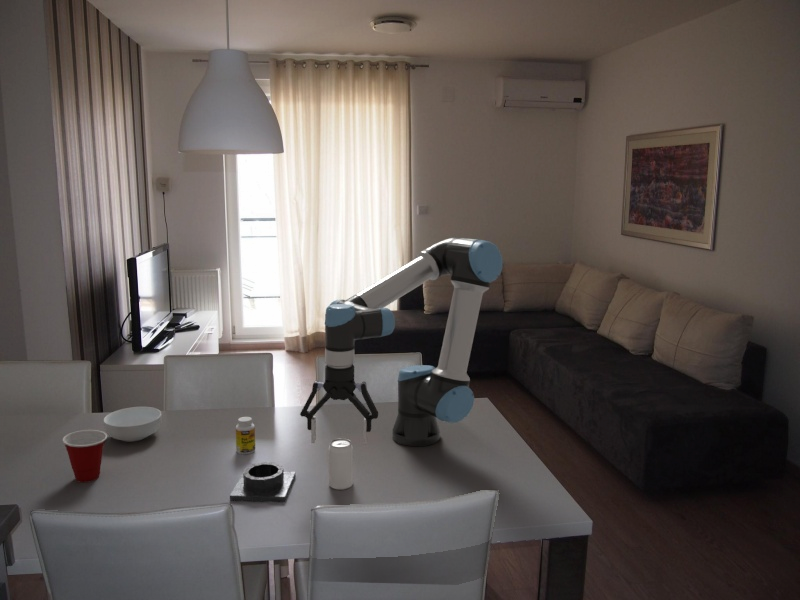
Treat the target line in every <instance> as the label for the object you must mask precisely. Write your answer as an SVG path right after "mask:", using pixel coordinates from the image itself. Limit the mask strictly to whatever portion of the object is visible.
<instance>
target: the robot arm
mask: <svg viewBox="0 0 800 600" xmlns="http://www.w3.org/2000/svg"><path fill="white" fill-rule="evenodd" d="M503 260H504V259H503V256H502V253H501V252H500V249H499V247H498V246H497V245H496V244H495V243H493V242H491V241H488V240H484V239H475V238H466V237H456V236H455V237H448V238H445V239H442V240H440V241H438V242H436V243H433V244H432V245H430V246H428V247H426V248H424V249H423V250H421V251H419V252H418V253H417V255H416V258H414V259H412V260H411V261H409V262H408V263H406V264H405V265H402V266H401V267H399V268H397V269H396V270H394V271H393V272H390V273H389V274H387V275H386V276H383V278H381V279H379V280H377V281H376V282H375V283H373V284H371V285H369V286H367V287H366V288H364V289H363V290H361V291H359V292H358V293H356V294H354V295H353V296H351V297H349V298H347V299H336V300H333V301H332V302H331V303H330V304H329V305H328V306H327V307H326V308H325V317H324V331H325V332H324V337H325V339H324V341H325V343H324V344H325V346H324V348H325V349H324V363H325V366H324V382H321V381H319V380H316V379H315V380H314V381H313V383H312V389H311V392H310V395H308V398H307V400H306V402H305V404H304V406H303V408H302V409H301V412H300V414H299V415H300V416H301V418H302V417H304V418H306V419H307V425H306V426H307V430H308V431H311V439H310V441H311V444H315V443H316V441H317V422H316V421H317V416H316V415H315V414H316V413H317V412H318V411H319V410H320V409H322V408H323V406H324V405H325V403H326V402H328V401H329V400H330V398H331V400H333V401H338V400H339V401H340V400H341V401H346V400H348V401H349V402H350V403H352V405H353V406H354V407H355V408H356V409H357V410H358V412H359V413H360V414H361V415H362V416H363V428H362V429H363V432H362V433H363V434H362V436H363V437H362V439H363V440H362V443H363V444H362V445H363V446H366V445H367V443H368V433H370V432H371V430H372V420H374V419H375V420H377V419H378V417H379V411H378V409H377V407H376V405H375V403H374V401H373V399H372V397H371V395H370V394H369V391H368V388H367V382H366V381H362V382H359V383H358V382H356V380H355V365H354V363H355V342H356V341H358V340H366V339H373V338H381V337H385V336H390V335H391V334H393V332H394V330H395V328H396V327H395V326H396V318H395V315H394V313H393V311H392V310H391V309H390V308H387V306H389V305H390V304H392V303H394V302H395V301H397V300H398V299H400V298H401V297H403V296H405V295H406V294H408V293H410V292H412V291H413V290H415V289H416V288H418V287H419V286H421V285H423V284H424V283H425V282H427V281H429V280H430V281H435V280H437V279H439V278H441V277H443V276H451V277H450V283H451V284H452V286H453V292H452V297H451V302H450V307H449V312H448V317H447V321H446V325H445V332H444V334H443V340H442V346H441V350H440V354H439V359H438V365H437V367H435V366H433V365H426V364H425V365H424V364H422V365H421V364H418V365H417V364H416V365H410V366H404V367H403V368H401V369H400V370H399V371H398V379H397V416H396V419H395V420H394V421H395V422H394V424H393V428H392V440H394V441H395V442H396V443H398V444H400V445H403V446H407V447H426V446H431V445H434V444H436V443H437V442H439V440H440V439H441V431H440V430H441V429H440V427H439V424H438V420H440V421H442V422H445V423H446V422H447V423H450V424H456V423H460V422H462V421H463V420H464V419H465V418H466V417H467V416H468V415H470V413H471V411H472V409H473V406H474V402H475V395H474V392H473V391H472V389H471V388H470V383H471V379H470V377H469V375H468V373H467V371H468V368H469V367H468V366H469V361H470V358H471V351H472V347H473V342H474V337H475V334H476V333H475V332H476V328H477V323H478V318H479V313H480V308H481V304H482V299H483V295H484V293H485V292H487V291H488V290H489V289H490V286H491V283H493V282H494V281H495V280H497V279H498V277H500V275H501V273H502V270H503V265H504V264H503V263H504V262H503ZM321 388H322V389H324V391H325V392H326V393H325V394H324V395H323V396H322V397H321V398H320V399H319V400H318V401H317V403H316V404H315V405H314V406H313V407H312V409H311V410H309V407H310V405H311V404H312V402H313V401H314V398H315V396H316V395H317V392H319V391H321ZM356 389H357V390H358V392H360V393H361V396H362V397H363V399H364V402H365V404H366V406H367V408H366V406H365V404H363V403H362V401H360V399H359V397H357V395H356V393H354V392H355V390H356ZM368 409H369V410H368ZM308 410H309V411H308ZM437 419H438V420H437Z"/></svg>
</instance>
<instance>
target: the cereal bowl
mask: <svg viewBox="0 0 800 600" xmlns="http://www.w3.org/2000/svg"><path fill="white" fill-rule="evenodd" d="M162 421H163V419H162V411H161V410H160V409H158V408H156V407H152V406H151V407H150V406H133V407H127V408H126V407H125V408H121V409H118V410H115V411H113V412H110V413H108V414H107V415H105V417H103V426H104V430H105V431H104V432H105V433H106V434H107V436H110V437H111V438H112V439H115V440H120V441H123V442H131V443H133V442H138V441H142V440H144V439H146V438H147V437H149V436H151V435H153V434H154V433H155V432H157V430H159V428H160V426H161V424H162Z"/></svg>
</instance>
